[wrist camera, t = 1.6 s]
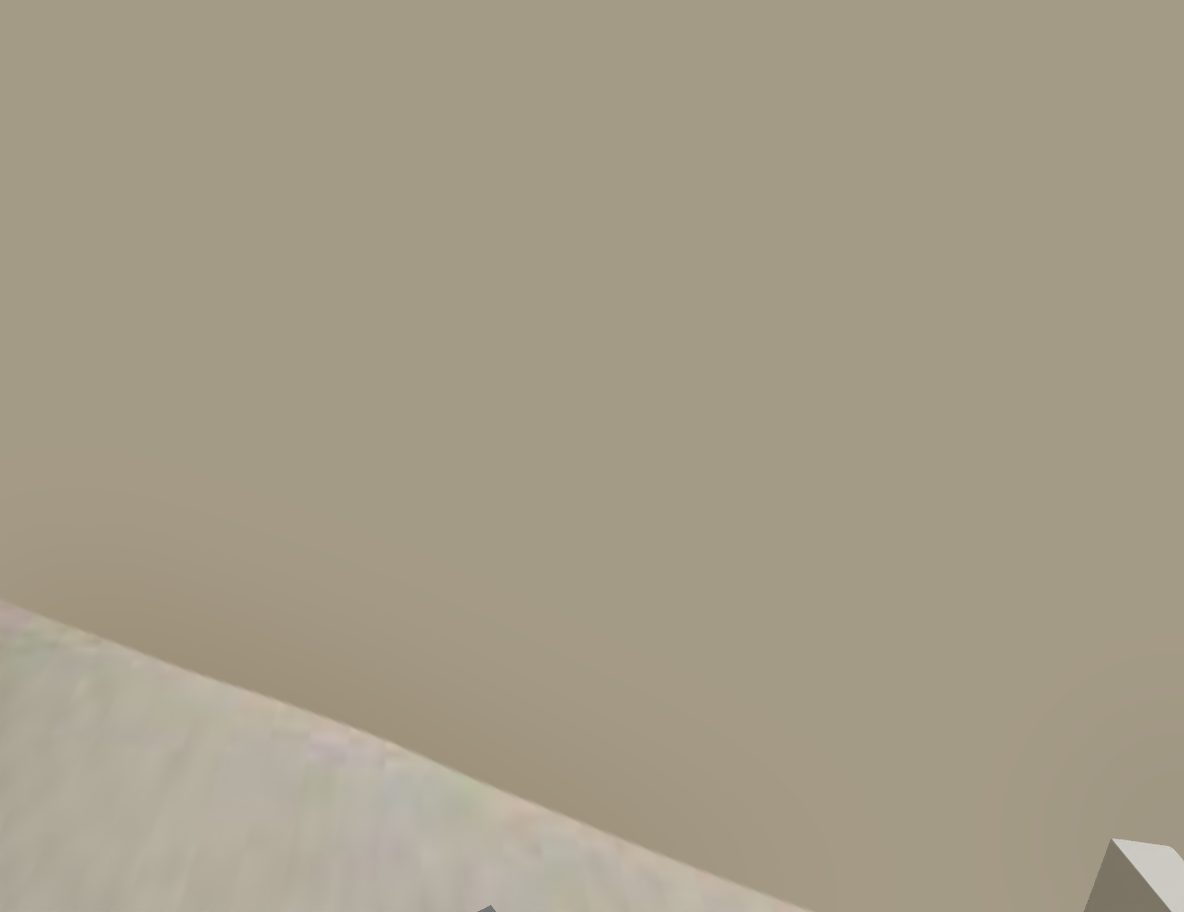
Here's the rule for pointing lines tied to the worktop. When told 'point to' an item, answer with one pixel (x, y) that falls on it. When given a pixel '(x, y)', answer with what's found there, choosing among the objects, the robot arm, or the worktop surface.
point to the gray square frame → (487, 909)
